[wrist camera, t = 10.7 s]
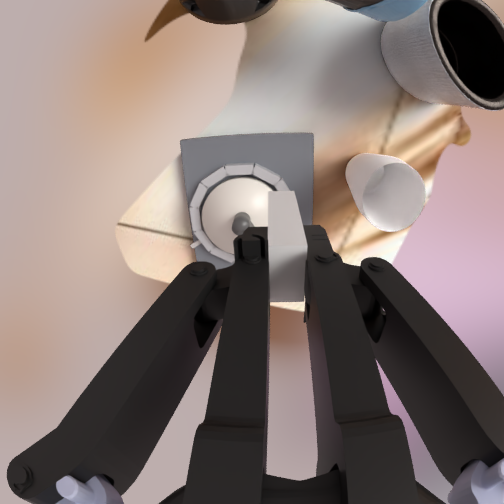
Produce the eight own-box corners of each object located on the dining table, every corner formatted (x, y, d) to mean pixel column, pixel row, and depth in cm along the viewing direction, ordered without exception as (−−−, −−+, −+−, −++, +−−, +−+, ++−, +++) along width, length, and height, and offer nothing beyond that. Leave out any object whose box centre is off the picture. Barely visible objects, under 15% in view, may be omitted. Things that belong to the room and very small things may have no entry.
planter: (455, 115, 33) (518, 130, 20) (374, 87, 33) (426, 83, 20) (460, 34, 25) (518, 26, 12) (378, -1, 26) (424, -35, 12)
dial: (189, 204, 43) (180, 216, 38) (254, 160, 39) (252, 168, 34) (234, 261, 47) (230, 278, 43) (297, 225, 43) (300, 240, 39)
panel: (179, 139, 39) (173, 142, 37) (311, 132, 38) (315, 134, 35) (198, 274, 51) (195, 284, 48) (308, 273, 50) (310, 282, 47)
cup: (340, 141, 38) (366, 156, 28) (394, 149, 38) (432, 167, 27) (334, 198, 43) (355, 230, 32) (386, 202, 42) (418, 235, 32)
